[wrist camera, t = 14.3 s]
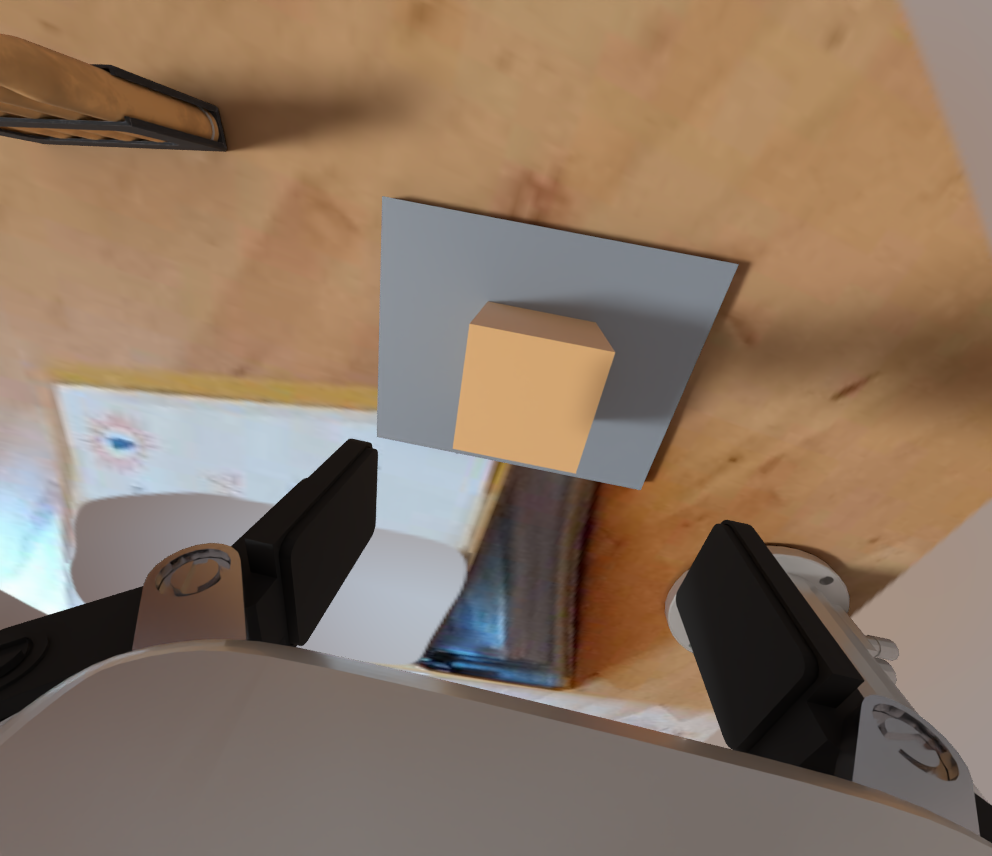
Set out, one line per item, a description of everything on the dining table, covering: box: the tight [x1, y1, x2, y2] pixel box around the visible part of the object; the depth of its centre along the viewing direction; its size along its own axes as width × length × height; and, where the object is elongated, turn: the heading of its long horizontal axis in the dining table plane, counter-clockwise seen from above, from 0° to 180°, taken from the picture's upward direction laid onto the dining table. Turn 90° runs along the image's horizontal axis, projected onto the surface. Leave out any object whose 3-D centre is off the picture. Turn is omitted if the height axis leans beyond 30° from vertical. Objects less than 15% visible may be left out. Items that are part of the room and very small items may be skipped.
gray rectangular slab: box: [377, 196, 739, 490], centre depth 21 cm, size 18×14×4 cm
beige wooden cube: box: [453, 301, 615, 474], centre depth 19 cm, size 6×6×6 cm
